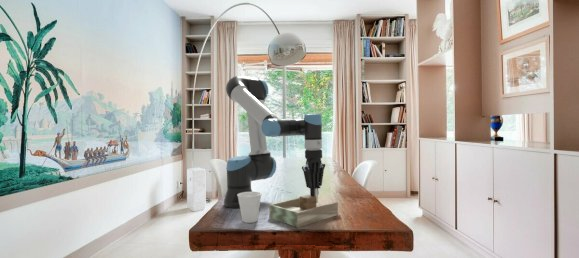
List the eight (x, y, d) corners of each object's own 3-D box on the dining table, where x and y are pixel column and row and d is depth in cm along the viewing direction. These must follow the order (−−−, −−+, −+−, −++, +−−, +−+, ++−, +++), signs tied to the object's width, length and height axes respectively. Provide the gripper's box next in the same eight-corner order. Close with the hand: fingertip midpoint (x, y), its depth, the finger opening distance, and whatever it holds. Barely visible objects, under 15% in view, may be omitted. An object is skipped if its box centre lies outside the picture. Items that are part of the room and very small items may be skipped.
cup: (258, 225, 123) (257, 197, 123) (233, 224, 125) (233, 196, 125) (265, 217, 133) (264, 191, 133) (242, 216, 135) (242, 191, 135)
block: (299, 208, 136) (299, 196, 136) (308, 206, 140) (307, 194, 140) (308, 210, 133) (308, 198, 132) (316, 208, 136) (316, 196, 136)
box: (269, 217, 133) (269, 204, 133) (308, 207, 149) (308, 195, 149) (298, 227, 120) (298, 213, 120) (337, 214, 136) (337, 202, 136)
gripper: (309, 150, 131) (310, 207, 132) (329, 148, 140) (330, 201, 141) (296, 150, 137) (298, 204, 137) (317, 147, 146) (318, 199, 146)
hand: (314, 203), depth 139 cm, fingers closed
